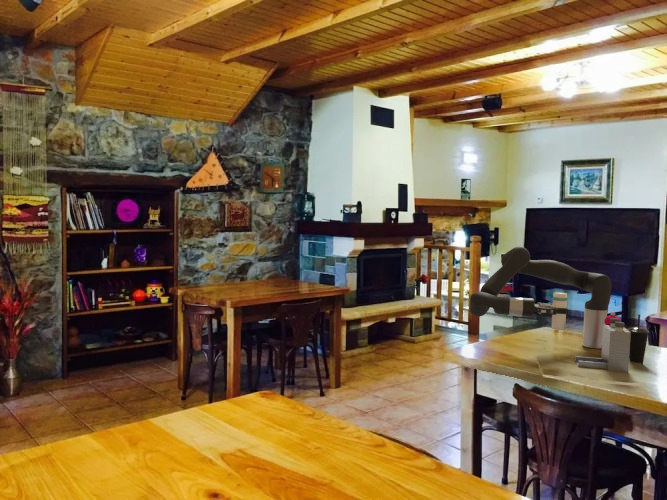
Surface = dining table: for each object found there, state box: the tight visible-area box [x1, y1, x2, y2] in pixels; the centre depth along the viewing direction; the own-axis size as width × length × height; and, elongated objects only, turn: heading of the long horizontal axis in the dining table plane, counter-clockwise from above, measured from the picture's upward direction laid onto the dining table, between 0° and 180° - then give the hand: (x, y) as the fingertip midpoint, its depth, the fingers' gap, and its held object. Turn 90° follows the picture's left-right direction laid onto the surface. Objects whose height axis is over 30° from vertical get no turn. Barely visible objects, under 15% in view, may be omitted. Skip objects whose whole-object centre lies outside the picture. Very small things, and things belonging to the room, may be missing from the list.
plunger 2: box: [615, 321, 625, 332], centre depth 212 cm, size 3×3×6 cm
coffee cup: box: [551, 291, 568, 331], centre depth 220 cm, size 5×5×14 cm
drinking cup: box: [626, 314, 650, 365], centre depth 226 cm, size 8×8×20 cm
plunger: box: [610, 318, 620, 327], centre depth 219 cm, size 3×3×6 cm
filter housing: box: [574, 325, 631, 373], centre depth 217 cm, size 12×17×16 cm
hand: (566, 310), depth 219 cm, fingers closed on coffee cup, 5 cm apart
